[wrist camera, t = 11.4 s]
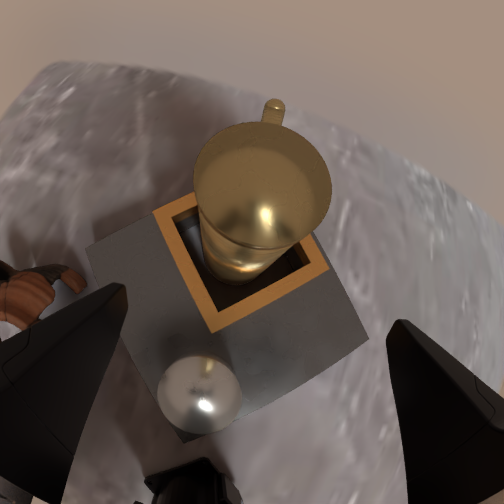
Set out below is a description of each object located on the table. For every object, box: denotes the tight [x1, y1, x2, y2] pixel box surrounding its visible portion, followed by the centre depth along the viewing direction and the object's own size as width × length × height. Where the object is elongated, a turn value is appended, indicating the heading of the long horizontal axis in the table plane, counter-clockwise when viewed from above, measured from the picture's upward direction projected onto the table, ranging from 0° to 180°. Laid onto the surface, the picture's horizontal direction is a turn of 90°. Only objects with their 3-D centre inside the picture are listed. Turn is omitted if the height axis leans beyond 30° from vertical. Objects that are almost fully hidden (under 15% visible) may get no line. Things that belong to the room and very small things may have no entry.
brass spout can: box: [193, 99, 332, 285], centre depth 17 cm, size 8×5×13 cm
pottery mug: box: [0, 260, 87, 342], centre depth 17 cm, size 12×10×8 cm
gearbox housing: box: [85, 192, 369, 443], centre depth 19 cm, size 16×16×6 cm
